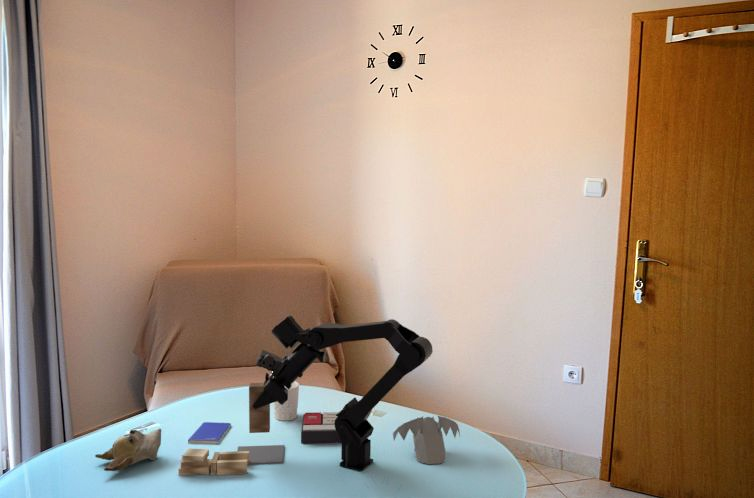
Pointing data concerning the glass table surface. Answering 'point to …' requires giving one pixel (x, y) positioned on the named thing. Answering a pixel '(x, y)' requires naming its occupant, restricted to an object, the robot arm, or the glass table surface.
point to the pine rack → (230, 463)
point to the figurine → (428, 437)
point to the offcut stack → (195, 462)
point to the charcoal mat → (264, 454)
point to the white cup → (288, 405)
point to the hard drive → (209, 433)
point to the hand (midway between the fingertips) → (254, 405)
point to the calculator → (319, 428)
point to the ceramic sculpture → (132, 449)
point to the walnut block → (258, 411)
